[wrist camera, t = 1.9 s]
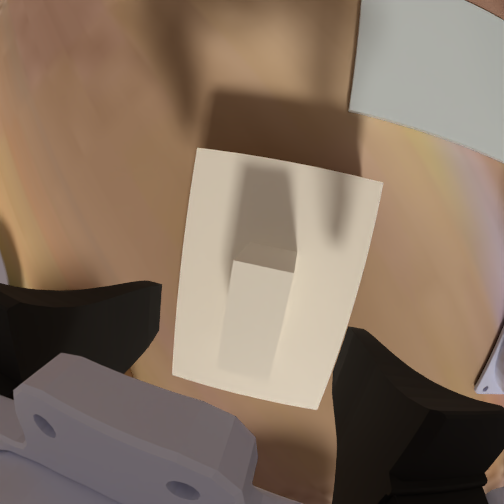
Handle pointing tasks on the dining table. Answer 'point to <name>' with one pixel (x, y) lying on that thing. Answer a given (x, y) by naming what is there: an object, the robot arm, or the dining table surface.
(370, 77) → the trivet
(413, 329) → the dining table surface
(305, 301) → the lid
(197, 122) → the dining table surface
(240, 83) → the dining table surface
